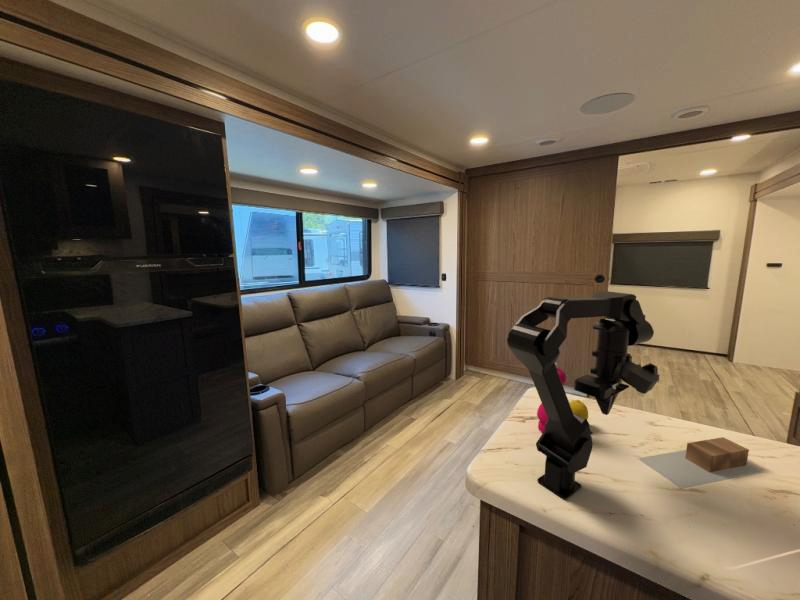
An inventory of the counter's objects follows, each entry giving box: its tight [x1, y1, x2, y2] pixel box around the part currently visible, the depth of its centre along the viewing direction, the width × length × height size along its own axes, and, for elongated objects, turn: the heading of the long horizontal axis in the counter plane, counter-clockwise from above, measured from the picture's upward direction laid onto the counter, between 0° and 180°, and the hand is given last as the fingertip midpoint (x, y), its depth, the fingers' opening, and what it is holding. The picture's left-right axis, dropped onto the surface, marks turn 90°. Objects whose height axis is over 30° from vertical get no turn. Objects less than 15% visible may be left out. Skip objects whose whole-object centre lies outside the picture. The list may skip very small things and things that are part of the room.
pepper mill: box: [536, 362, 567, 434], centre depth 88 cm, size 7×7×20 cm
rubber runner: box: [636, 449, 763, 489], centre depth 74 cm, size 23×10×1 cm, turn 102°
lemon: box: [569, 399, 589, 421], centre depth 90 cm, size 6×6×8 cm
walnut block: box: [685, 437, 750, 472], centre depth 75 cm, size 4×5×11 cm
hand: (605, 413), depth 73 cm, fingers closed
